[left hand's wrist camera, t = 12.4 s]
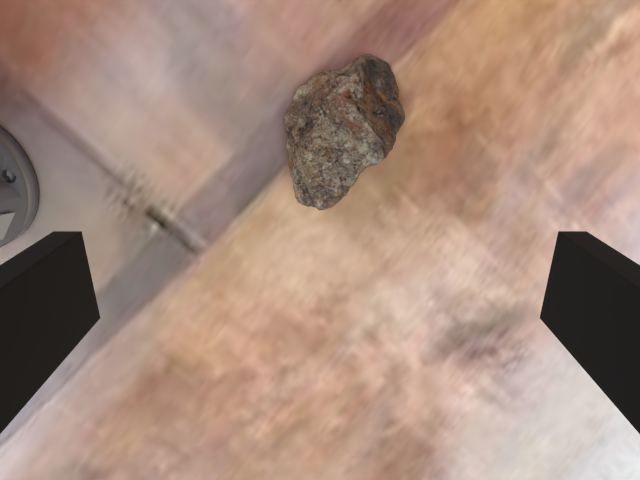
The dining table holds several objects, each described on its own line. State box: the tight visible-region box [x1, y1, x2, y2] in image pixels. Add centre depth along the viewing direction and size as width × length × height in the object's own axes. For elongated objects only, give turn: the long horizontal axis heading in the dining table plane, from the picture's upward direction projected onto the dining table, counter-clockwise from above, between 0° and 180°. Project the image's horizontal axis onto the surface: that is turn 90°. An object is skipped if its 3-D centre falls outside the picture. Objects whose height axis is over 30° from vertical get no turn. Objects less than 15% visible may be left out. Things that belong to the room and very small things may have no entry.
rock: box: [283, 55, 405, 210], centre depth 41 cm, size 14×9×10 cm
